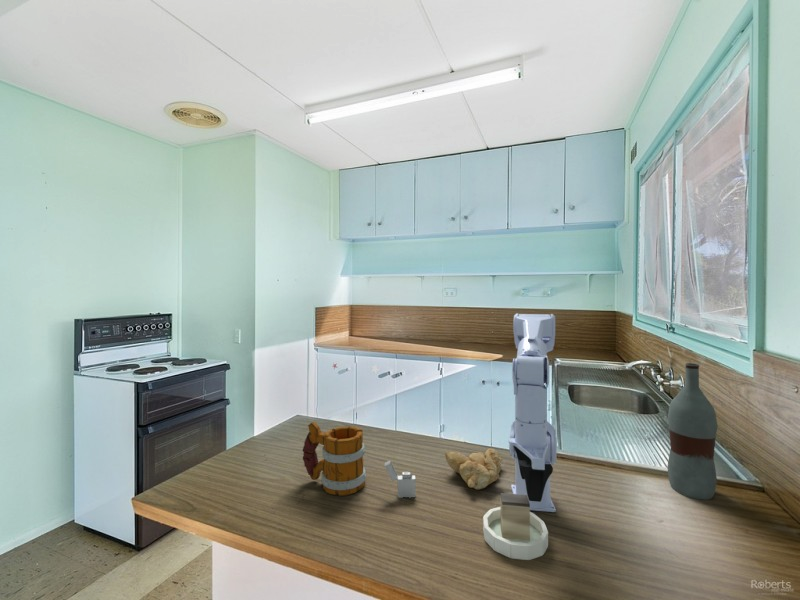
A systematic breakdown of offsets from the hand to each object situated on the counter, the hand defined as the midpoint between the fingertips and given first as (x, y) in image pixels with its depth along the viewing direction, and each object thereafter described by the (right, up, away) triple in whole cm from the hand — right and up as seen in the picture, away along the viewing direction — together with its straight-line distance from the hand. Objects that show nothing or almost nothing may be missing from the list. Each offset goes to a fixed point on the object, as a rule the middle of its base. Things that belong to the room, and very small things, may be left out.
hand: (530, 488), depth 69 cm
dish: (-3, -9, 0) cm, 10 cm away
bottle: (+44, -9, +16) cm, 48 cm away
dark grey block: (-3, -9, 0) cm, 9 cm away
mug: (-41, -10, +20) cm, 47 cm away
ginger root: (-6, -9, +22) cm, 25 cm away
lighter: (-25, -10, +15) cm, 31 cm away
